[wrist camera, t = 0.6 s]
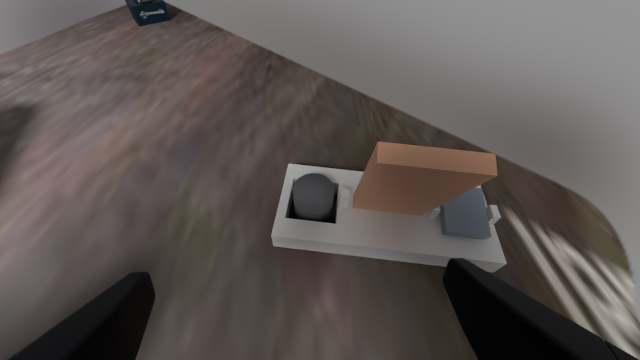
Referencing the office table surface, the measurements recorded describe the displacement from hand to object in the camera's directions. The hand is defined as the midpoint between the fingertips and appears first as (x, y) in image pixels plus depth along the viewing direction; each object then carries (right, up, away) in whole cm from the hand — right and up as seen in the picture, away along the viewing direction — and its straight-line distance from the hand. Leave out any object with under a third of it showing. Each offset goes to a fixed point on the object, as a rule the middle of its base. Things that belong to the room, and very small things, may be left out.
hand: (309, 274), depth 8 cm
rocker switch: (+13, 0, +15) cm, 20 cm away
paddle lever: (+6, +1, +16) cm, 17 cm away
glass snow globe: (-32, +33, +43) cm, 63 cm away
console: (+6, -1, +18) cm, 19 cm away
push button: (0, 0, +18) cm, 18 cm away
